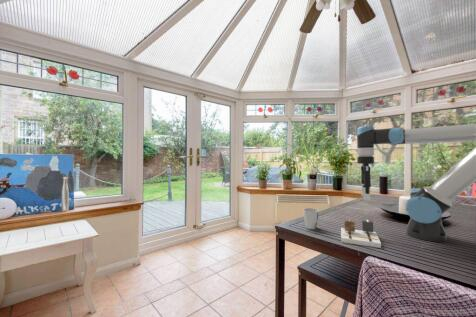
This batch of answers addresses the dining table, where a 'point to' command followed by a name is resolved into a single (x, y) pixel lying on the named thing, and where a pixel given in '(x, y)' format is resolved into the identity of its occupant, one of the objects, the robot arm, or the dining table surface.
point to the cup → (310, 217)
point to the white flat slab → (360, 238)
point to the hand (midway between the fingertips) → (365, 197)
